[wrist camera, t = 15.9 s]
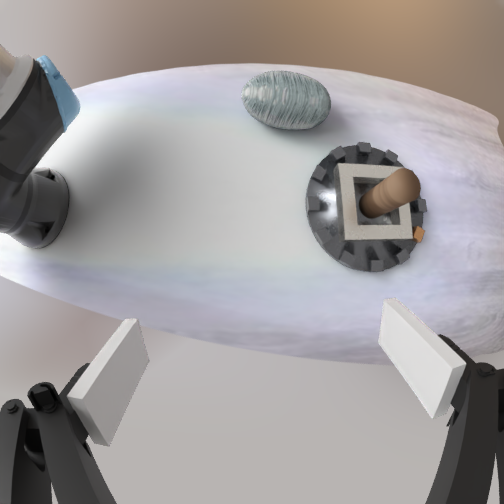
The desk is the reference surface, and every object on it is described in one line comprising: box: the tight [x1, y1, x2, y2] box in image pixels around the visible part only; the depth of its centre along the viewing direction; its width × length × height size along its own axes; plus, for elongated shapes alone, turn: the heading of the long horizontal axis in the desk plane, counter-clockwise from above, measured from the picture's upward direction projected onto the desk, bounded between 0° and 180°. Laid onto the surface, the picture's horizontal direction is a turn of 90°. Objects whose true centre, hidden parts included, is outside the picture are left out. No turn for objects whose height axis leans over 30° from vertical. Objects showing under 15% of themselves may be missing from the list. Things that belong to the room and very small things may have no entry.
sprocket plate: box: [306, 142, 427, 272], centre depth 40 cm, size 20×20×4 cm
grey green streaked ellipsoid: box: [242, 71, 331, 130], centre depth 39 cm, size 14×10×10 cm
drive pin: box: [359, 168, 421, 219], centre depth 35 cm, size 4×4×12 cm
